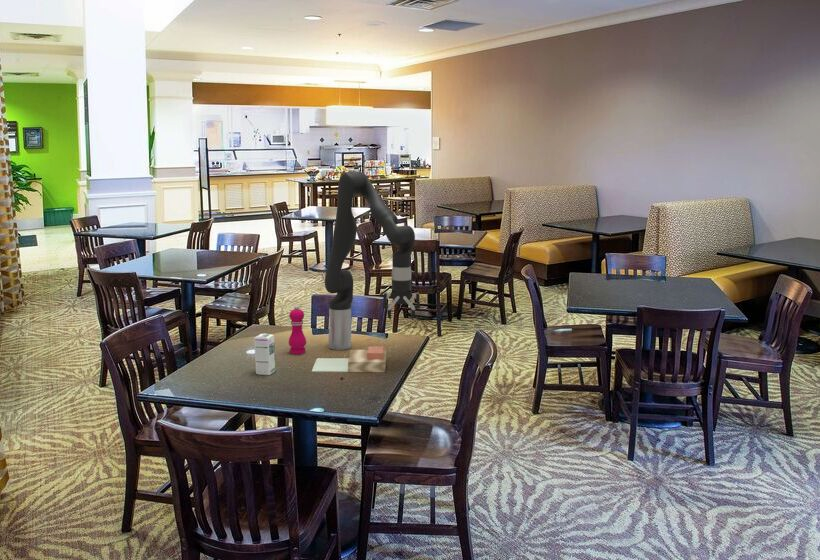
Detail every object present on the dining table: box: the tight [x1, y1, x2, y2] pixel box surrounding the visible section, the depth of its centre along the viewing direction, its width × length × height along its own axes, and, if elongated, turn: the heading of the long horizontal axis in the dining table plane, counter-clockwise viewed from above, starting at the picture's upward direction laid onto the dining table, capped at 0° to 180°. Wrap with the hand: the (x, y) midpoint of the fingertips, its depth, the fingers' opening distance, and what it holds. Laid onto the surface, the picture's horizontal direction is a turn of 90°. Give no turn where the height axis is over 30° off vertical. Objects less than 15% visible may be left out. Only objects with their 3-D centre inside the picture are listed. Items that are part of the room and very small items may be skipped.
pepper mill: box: [288, 305, 307, 355], centre depth 284 cm, size 7×7×20 cm
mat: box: [311, 357, 349, 373], centre depth 269 cm, size 14×16×1 cm
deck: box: [347, 349, 387, 373], centre depth 269 cm, size 14×16×4 cm
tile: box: [367, 345, 385, 359], centre depth 268 cm, size 6×9×2 cm, turn 0°
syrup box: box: [253, 333, 277, 376], centre depth 259 cm, size 6×6×14 cm
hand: (401, 319), depth 267 cm, fingers open, 8 cm apart
